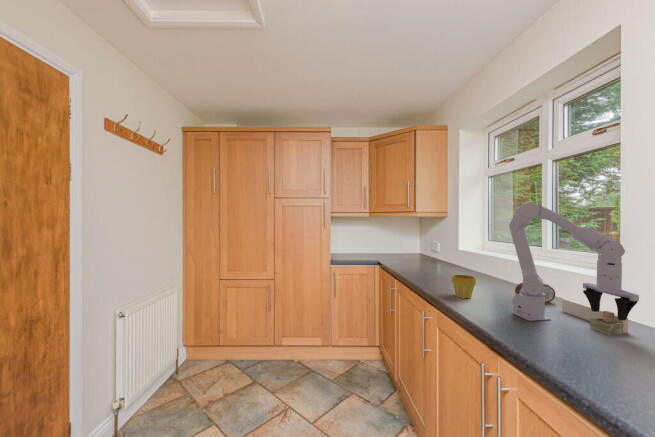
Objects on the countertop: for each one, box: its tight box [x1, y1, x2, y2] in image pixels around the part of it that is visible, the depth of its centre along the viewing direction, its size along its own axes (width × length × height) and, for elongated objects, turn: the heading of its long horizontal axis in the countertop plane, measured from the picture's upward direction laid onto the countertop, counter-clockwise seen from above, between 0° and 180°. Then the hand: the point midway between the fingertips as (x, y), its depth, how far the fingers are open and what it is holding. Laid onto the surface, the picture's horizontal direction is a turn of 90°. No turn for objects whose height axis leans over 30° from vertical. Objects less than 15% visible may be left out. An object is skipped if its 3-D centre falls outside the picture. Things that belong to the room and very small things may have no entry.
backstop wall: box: [561, 298, 629, 334], centre depth 96 cm, size 2×20×5 cm, turn 6°
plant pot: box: [451, 273, 477, 299], centre depth 125 cm, size 10×10×10 cm
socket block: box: [589, 318, 624, 335], centre depth 88 cm, size 5×5×4 cm
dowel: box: [603, 310, 615, 324], centre depth 88 cm, size 3×3×6 cm
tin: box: [514, 282, 556, 304], centre depth 118 cm, size 15×3×8 cm, turn 77°
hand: (608, 315), depth 88 cm, fingers open, 7 cm apart
